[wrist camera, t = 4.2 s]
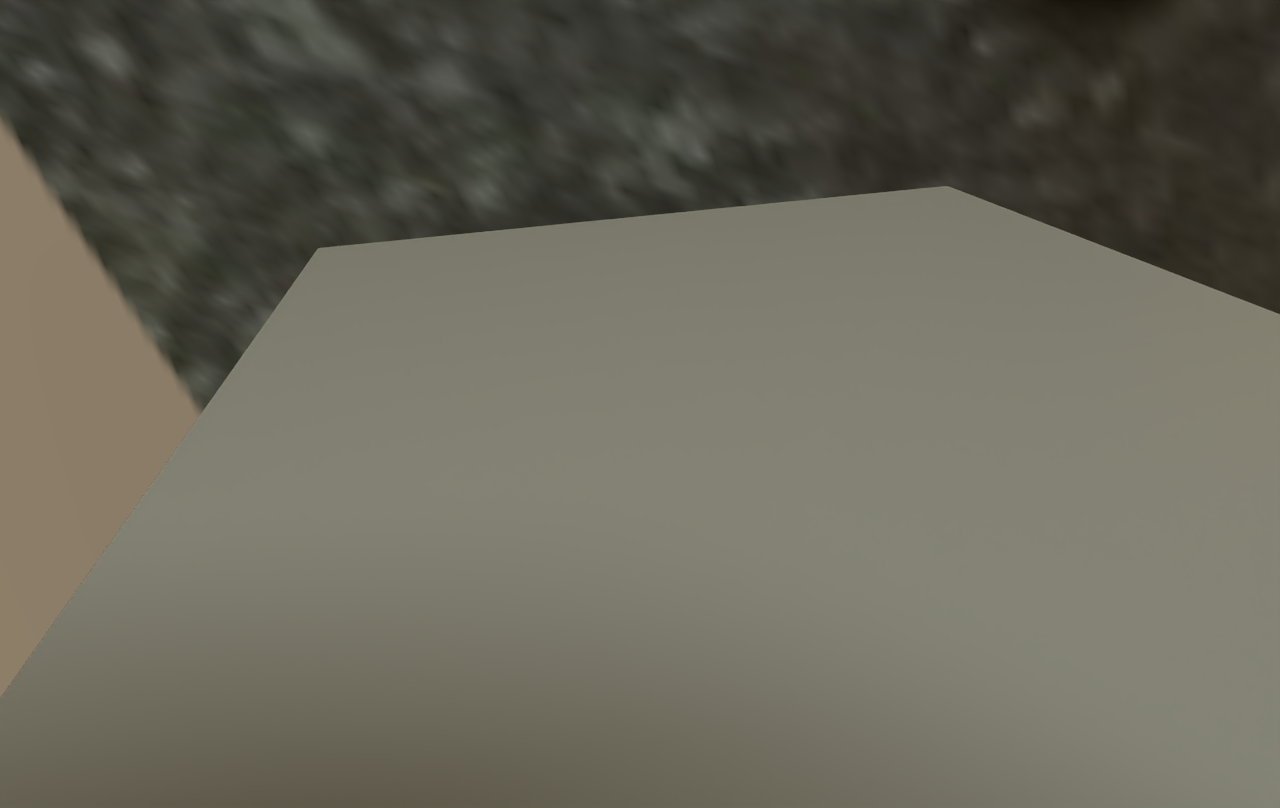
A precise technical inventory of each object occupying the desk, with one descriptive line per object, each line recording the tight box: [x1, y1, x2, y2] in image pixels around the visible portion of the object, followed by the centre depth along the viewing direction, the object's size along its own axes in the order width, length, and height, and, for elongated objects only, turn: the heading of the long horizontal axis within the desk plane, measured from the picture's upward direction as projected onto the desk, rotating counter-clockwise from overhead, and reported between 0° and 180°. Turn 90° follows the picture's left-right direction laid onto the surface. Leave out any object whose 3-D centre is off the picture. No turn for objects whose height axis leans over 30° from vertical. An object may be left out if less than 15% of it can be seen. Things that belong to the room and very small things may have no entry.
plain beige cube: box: [0, 186, 1280, 808], centre depth 8 cm, size 8×8×9 cm
